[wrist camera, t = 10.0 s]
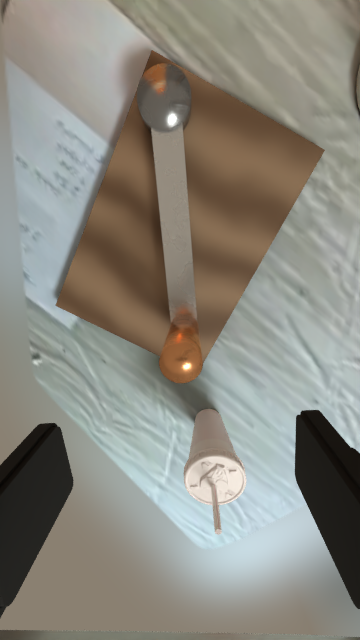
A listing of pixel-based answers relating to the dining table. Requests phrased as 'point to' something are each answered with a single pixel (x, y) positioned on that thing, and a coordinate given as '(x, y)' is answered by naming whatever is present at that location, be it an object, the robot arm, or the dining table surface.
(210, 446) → the smoothie
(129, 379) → the dining table surface
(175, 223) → the lever
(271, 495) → the dining table surface
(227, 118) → the lever base
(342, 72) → the dining table surface
